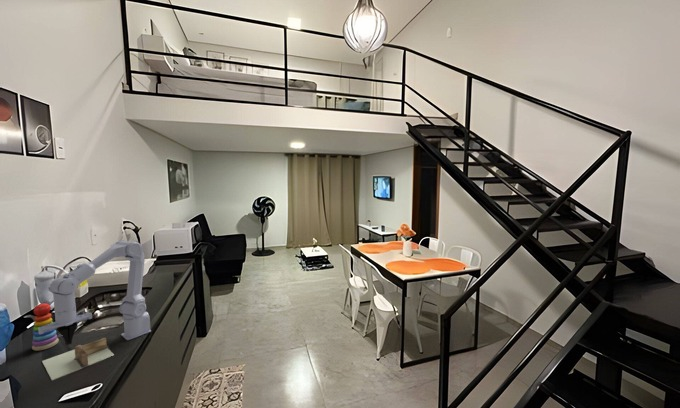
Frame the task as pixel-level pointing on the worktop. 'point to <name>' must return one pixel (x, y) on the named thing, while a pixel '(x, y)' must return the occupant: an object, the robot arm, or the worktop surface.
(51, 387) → the worktop surface
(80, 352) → the fence panel
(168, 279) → the worktop surface
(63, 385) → the worktop surface
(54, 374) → the card
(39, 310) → the stacking toy
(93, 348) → the fence
